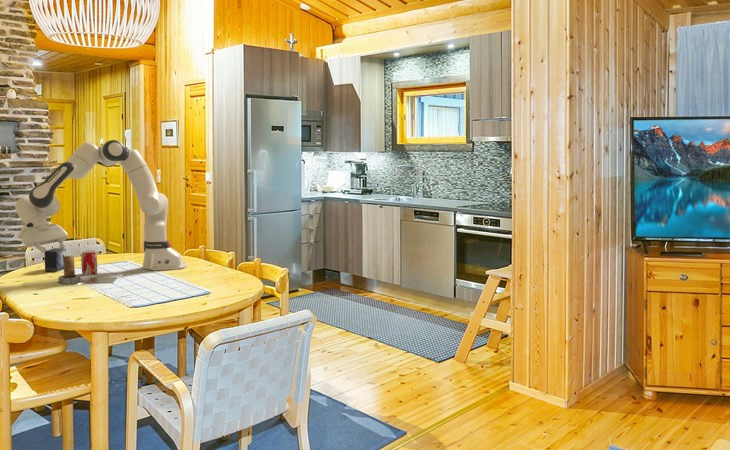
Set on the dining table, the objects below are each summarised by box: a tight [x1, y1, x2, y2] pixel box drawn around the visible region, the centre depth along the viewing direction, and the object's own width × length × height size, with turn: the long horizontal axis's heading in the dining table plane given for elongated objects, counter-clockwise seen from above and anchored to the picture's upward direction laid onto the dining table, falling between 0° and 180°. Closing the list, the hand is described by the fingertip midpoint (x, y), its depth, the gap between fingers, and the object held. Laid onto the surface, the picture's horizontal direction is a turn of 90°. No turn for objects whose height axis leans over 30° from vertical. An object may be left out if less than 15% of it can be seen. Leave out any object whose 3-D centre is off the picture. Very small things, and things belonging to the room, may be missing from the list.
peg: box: [63, 255, 76, 278], centre depth 286 cm, size 4×4×12 cm
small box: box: [43, 247, 67, 272], centre depth 321 cm, size 11×6×10 cm, turn 179°
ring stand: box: [54, 273, 85, 287], centre depth 287 cm, size 12×12×4 cm
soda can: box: [80, 250, 98, 276], centre depth 307 cm, size 7×7×12 cm
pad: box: [84, 276, 118, 285], centre depth 292 cm, size 12×12×1 cm
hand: (53, 249), depth 291 cm, fingers open, 8 cm apart
